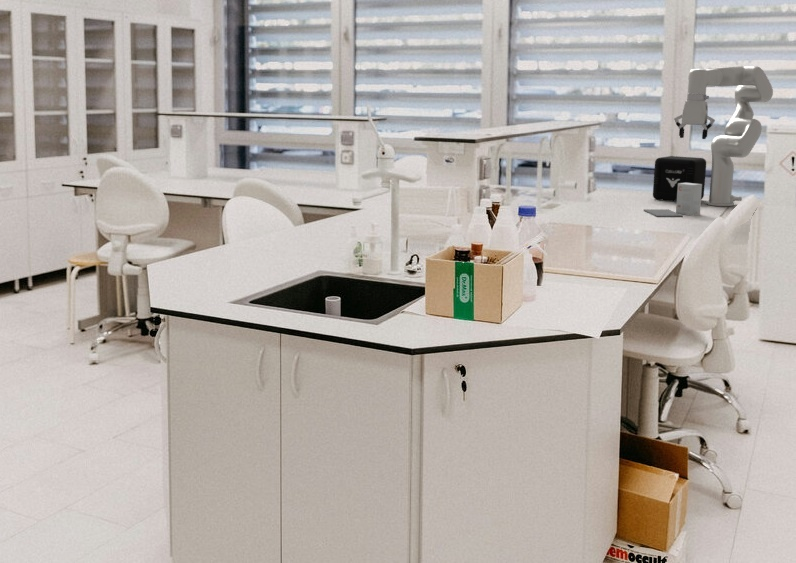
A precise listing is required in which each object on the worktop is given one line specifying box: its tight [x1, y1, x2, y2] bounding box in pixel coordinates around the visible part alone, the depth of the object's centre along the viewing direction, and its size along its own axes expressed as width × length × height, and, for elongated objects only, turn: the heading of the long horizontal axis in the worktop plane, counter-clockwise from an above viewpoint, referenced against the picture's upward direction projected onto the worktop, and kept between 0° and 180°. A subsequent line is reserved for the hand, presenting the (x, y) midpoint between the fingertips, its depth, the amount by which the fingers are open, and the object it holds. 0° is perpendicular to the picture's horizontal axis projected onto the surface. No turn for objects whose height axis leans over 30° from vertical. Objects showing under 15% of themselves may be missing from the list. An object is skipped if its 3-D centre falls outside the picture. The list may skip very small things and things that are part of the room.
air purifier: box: [652, 155, 707, 202], centre depth 435 cm, size 20×15×20 cm
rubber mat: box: [643, 208, 684, 218], centre depth 392 cm, size 11×18×1 cm, turn 3°
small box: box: [675, 183, 702, 216], centre depth 391 cm, size 8×6×13 cm
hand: (692, 138), depth 398 cm, fingers open, 9 cm apart
